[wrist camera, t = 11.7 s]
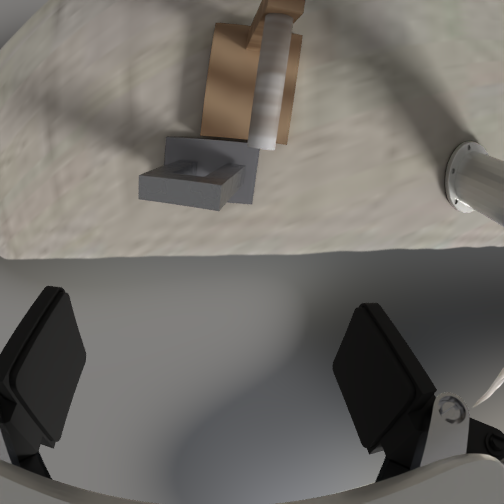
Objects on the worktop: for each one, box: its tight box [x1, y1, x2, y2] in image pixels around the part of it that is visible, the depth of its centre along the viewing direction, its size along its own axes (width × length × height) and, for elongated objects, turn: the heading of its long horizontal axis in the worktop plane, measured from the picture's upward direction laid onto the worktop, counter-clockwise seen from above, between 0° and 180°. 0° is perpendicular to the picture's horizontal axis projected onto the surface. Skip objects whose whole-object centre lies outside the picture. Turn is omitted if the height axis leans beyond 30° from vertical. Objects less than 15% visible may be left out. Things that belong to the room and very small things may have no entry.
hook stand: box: [200, 0, 305, 150], centre depth 22 cm, size 14×10×16 cm
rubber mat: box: [164, 137, 260, 204], centre depth 34 cm, size 11×8×1 cm
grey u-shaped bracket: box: [139, 160, 246, 211], centre depth 29 cm, size 8×2×11 cm, turn 83°
